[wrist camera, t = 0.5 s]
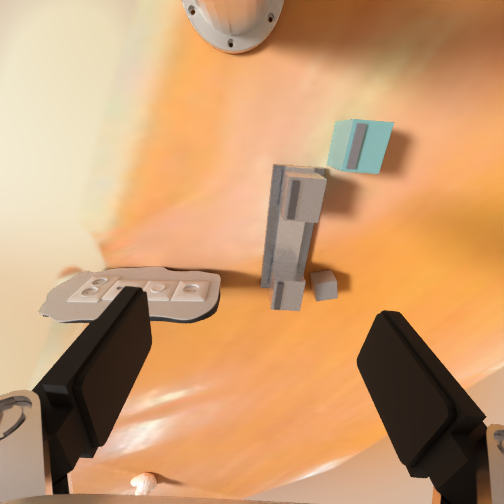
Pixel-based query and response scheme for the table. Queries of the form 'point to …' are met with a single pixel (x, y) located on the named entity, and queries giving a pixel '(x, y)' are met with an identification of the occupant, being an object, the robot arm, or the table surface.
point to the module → (359, 145)
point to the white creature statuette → (144, 483)
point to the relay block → (324, 285)
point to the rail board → (290, 232)
